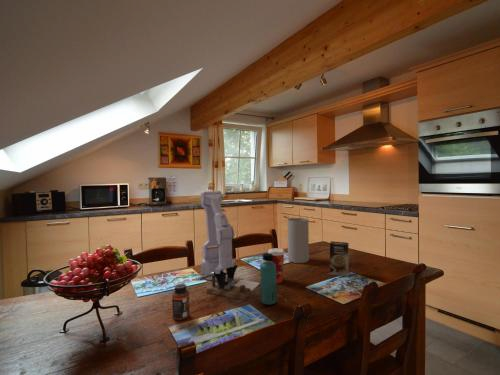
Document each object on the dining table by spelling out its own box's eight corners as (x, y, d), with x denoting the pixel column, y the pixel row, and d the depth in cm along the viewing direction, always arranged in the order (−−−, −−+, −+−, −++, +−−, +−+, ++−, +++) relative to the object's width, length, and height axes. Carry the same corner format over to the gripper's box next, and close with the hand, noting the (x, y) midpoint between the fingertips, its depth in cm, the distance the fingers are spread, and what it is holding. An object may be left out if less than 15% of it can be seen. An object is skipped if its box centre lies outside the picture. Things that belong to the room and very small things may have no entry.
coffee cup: (284, 284, 121) (283, 252, 121) (266, 283, 123) (266, 252, 122) (285, 278, 129) (285, 248, 129) (269, 277, 131) (268, 247, 130)
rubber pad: (232, 287, 119) (232, 286, 119) (241, 280, 127) (241, 279, 127) (252, 291, 114) (252, 290, 114) (259, 283, 123) (259, 282, 123)
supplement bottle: (190, 319, 92) (189, 288, 92) (172, 322, 90) (171, 290, 90) (189, 311, 98) (188, 281, 97) (172, 314, 96) (171, 283, 96)
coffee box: (329, 274, 132) (329, 243, 132) (330, 270, 138) (330, 240, 138) (348, 277, 129) (348, 245, 129) (348, 272, 135) (348, 242, 135)
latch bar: (213, 273, 118) (213, 271, 118) (216, 274, 116) (216, 272, 116) (197, 279, 111) (197, 277, 111) (201, 281, 109) (200, 278, 109)
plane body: (206, 292, 114) (206, 277, 114) (215, 286, 120) (214, 272, 120) (243, 299, 106) (242, 283, 106) (250, 293, 113) (250, 277, 112)
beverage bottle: (272, 310, 98) (271, 257, 97) (257, 305, 101) (256, 255, 100) (280, 302, 103) (279, 253, 103) (265, 299, 107) (264, 251, 106)
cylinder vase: (285, 258, 162) (285, 218, 162) (304, 257, 164) (304, 217, 163) (291, 264, 150) (290, 221, 149) (311, 263, 151) (311, 220, 151)
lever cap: (217, 288, 113) (217, 280, 113) (222, 285, 117) (222, 276, 117) (229, 291, 110) (229, 282, 110) (234, 287, 114) (234, 278, 114)
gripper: (225, 259, 105) (225, 292, 105) (241, 250, 118) (241, 280, 118) (210, 257, 108) (211, 290, 108) (227, 249, 121) (228, 278, 121)
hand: (226, 284), depth 113 cm, fingers open, 7 cm apart
